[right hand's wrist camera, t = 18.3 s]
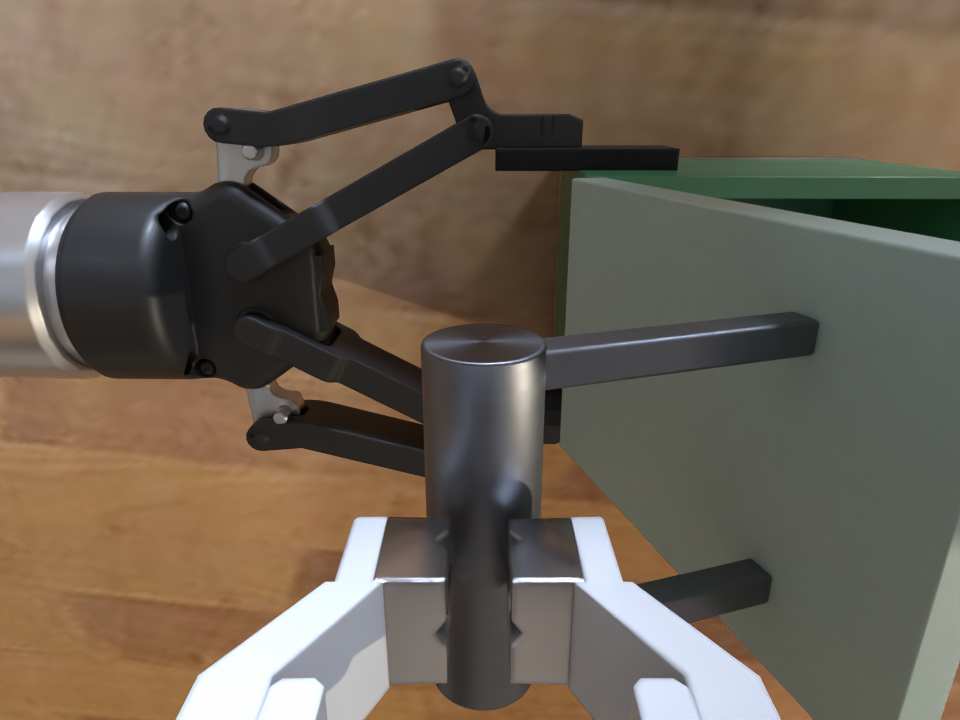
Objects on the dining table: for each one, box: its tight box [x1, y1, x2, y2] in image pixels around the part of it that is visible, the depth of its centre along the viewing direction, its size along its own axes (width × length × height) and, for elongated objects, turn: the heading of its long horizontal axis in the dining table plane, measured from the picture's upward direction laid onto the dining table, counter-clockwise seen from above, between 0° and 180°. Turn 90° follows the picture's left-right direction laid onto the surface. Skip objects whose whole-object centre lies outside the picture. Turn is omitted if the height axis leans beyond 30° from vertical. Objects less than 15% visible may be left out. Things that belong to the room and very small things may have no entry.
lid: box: [421, 178, 960, 720], centre depth 15 cm, size 14×9×8 cm
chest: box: [553, 157, 960, 337], centre depth 28 cm, size 13×10×10 cm
